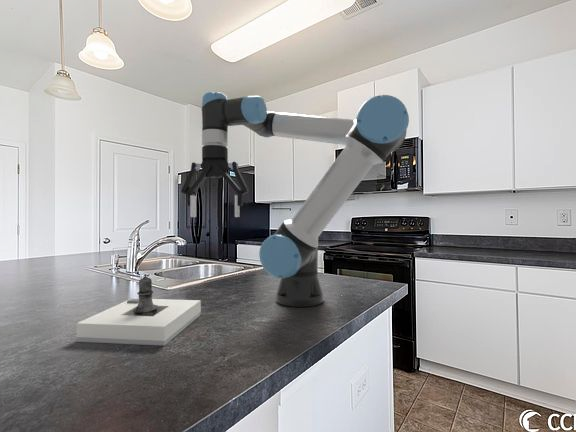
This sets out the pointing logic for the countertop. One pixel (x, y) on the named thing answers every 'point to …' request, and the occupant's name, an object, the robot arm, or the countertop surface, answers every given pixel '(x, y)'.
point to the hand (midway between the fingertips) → (215, 217)
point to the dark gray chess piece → (145, 299)
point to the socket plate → (139, 323)
